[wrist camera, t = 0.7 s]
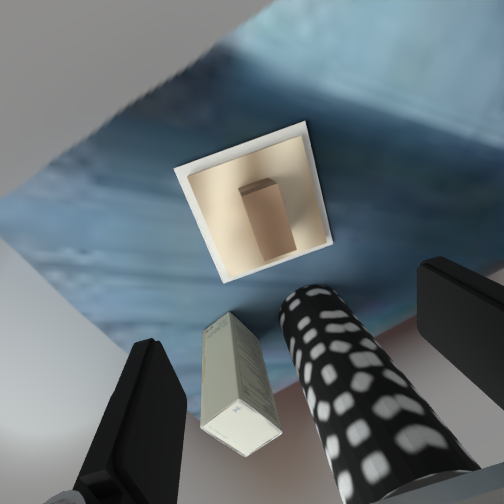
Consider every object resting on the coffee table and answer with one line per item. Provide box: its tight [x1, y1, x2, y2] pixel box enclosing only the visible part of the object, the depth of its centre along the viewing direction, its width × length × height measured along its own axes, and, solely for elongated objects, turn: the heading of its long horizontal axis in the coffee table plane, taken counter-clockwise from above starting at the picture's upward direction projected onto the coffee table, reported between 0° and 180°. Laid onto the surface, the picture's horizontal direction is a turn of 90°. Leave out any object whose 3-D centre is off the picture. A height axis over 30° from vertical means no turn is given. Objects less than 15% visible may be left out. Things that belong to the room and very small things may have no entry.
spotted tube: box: [279, 285, 481, 504], centre depth 24 cm, size 8×8×20 cm
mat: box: [174, 121, 333, 284], centre depth 28 cm, size 13×13×1 cm
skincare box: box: [201, 312, 282, 457], centre depth 28 cm, size 6×4×12 cm
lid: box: [187, 135, 327, 278], centre depth 25 cm, size 11×11×6 cm
